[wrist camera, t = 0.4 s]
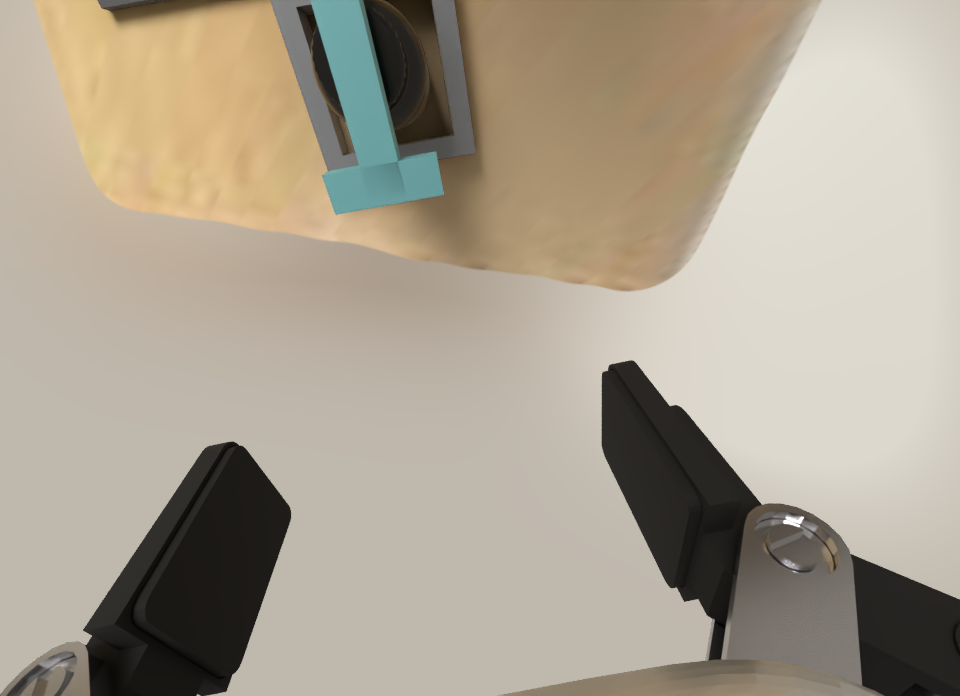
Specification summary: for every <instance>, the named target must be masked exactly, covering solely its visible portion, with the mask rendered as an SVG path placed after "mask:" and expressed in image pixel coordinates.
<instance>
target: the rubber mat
mask: <svg viewBox="0 0 960 696" xmlns="http://www.w3.org/2000/svg"><path fill="white" fill-rule="evenodd" d="M161 1H167V0H98V2H99V4H100V6H101V8H103V9H106V10H109V11H112V10H117V9H123V8H128V7H134V6H139V5H145V4H150V3H156V2H161Z"/></svg>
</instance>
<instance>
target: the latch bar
mask: <svg viewBox="0 0 960 696" xmlns="http://www.w3.org/2000/svg"><path fill="white" fill-rule="evenodd" d="M310 1H311V5H312V8H313V11H314V15H315V18H316V21H317V25H318V28H319V32H320V35H321V38H322V42H323V45H324V48H325V52H326V55H327V59H328V62H329V65H330V69H331V72H332V75H333V79H334V82H335V86H336V89H337V92H338V96H339V99H340V103H341V106H342V109H343V113H344V116H345V119H346V123H347V126H348V130H349V133H350V136H351V140H352V143H353V146H354V150H355V153H356V157H357V160H358V163H359V165H358V166H353V167H347V168H342V169H336V170H331V171H328V172H327V173H325V174H323V175H322V177H323V180H324V183H325V186H326V189H327V192H328V194H329V197H330V200H331V203H332V206H333V209H334V212H335V214H336V215H337V214H343V213H348V212H354V211H359V210H365V209H370V208H375V207H381V206H386V205H392V204H397V203H403V202H408V201H414V200H419V199H425V198H430V197H436V196H441V195H444V190H443V184H442V179H441V174H440V169H439V164H438V158H437V153H436V151H435V152H429V153H424V154H418V155H413V156H407V157H402V158H401V157H400V152H399V148H398V144H397V140H396V136H395V132H394V127H393V123H392V119H391V115H390V111H389V106H388V102H387V98H386V94H385V90H384V86H383V81H382V77H381V73H380V69H379V65H378V61H377V56H376V52H375V48H374V44H373V40H372V36H371V31H370V27H369V23H368V19H367V15H366V10H365V6H364V2H363V0H310Z"/></svg>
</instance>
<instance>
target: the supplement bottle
mask: <svg viewBox="0 0 960 696" xmlns="http://www.w3.org/2000/svg"><path fill="white" fill-rule="evenodd" d="M363 2H364V6H365V10H366V15H367V19H368V23H369V27H370V31H371V36H372V40H373V44H374V48H375V52H376V56H377V61H378V65H379V69H380V73H381V77H382V81H383V86H384V90H385V94H386V98H387V102H388V106H389V111H390V115H391V119H392V123H393V127H394V131H395V130H399V129H402V128H404V127H406V126H408V125H410V124H411V123H413V122H414V121H415V120H416V119H417V118H418V117H419V115H420V114H421V113H422V111H423V109H424V107H425V105H426V102H427V99H428V95H429V88H430V79H429V70H428V66H427V62H426V58H425V54H424V50H423V47H422V45H421V42H420V40H419V38H418V35H417V33H416V32H415V30H414V28H413V27H412V25H411V24H410V23H409V21H408V20H407V19H406V18H405V16H404V15H403V14H402V13H401V12H400V11H399V10H398V9H396V8H395V7H394V6H393V5H391V4H390V3H388V2H386V1H384V0H363ZM311 61H312V68H313V73H314V76H315V80H316V83H317V85H318V88H319V90H320V92H321V94H322V96H323V98H324V99H325V101H326V102H327V104H328V105H329V106H330V108H331V109H332V110H333V111H334V112H335V113H336V114H337V115H338V116H339V117H340V118H341V119H342V120H343V121H345V122H346V119H345V116H344V113H343V109H342V106H341V103H340V99H339V96H338V92H337V89H336V86H335V82H334V79H333V75H332V72H331V69H330V65H329V62H328V59H327V55H326V52H325V48H324V45H323V42H322V38H321V35H320V32H319V28H318V25H316V27H315V30H314V34H313V38H312V45H311Z"/></svg>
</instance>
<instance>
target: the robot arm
mask: <svg viewBox="0 0 960 696" xmlns="http://www.w3.org/2000/svg"><path fill="white" fill-rule="evenodd" d="M602 448H603V452H604V455H605V457H606V460H607V462H608V464H609V466H610V468H611V470H612V472H613V474H614V476H615V478H616V480H617V483H618V485H619V486H620V489H621V491H622V493H623V495H624V497H625V499H626V501H627V503H628V505H629V507H630V509H631V511H632V513H633V516H634V518H635V519H636V522H637V523H638V526H639V528H640V530H641V532H642V534H643V536H644V538H645V540H646V542H647V544H648V546H649V548H650V551H651V553H652V555H653V557H654V559H655V561H656V563H657V565H658V567H659V569H660V571H661V573H662V575H663V577H664V579H665V581H666V583H667V584H668V586H669V587H670V588H675V587H677V588H678V590H679V592H680V594H681V596H682V598H683V600H684V602H685V601H690V600H695V599H699V601H700V603H701V605H702V607H703V608H704V610H705V612H706V614H707V615H708V616H709V617H711V618H712V624H711V631H710V636H709V642H708V649H707V654H706V660H705V661H700V662H690V663H681V664H672V665H666V666H660V667H654V668H648V669H642V670H636V671H630V672H624V673H619V674H612V675H607V676H601V677H595V678H589V679H583V680H578V681H573V682H567V683H562V684H557V685H551V686H547V687H542V688H536V689H531V690H526V691H520V692H515V693H509V694H504V695H499V696H960V600H959V599H957V598H955V597H952V596H950V595H947V594H945V593H943V592H940V591H938V590H935V589H932V588H931V587H928V586H926V585H923V584H921V583H919V582H916V581H914V580H911V579H909V578H907V577H904V576H902V575H899V574H897V573H895V572H892V571H890V570H887V569H885V568H883V567H880V566H878V565H876V564H873V563H871V562H868V561H866V560H863V559H861V558H859V557H856V556H854V555H852V554H850V551H849V549H848V547H847V546H846V544H845V543H844V541H843V540H842V538H841V537H840V535H838V534H837V533H836V532H835V531H834V530H833V529H832V528H831V527H830V526H829V525H828V524H827V523H825V522H824V521H822V520H821V519H819V518H818V517H816V516H815V515H813V514H811V513H809V512H806V511H804V510H802V509H799V508H797V507H794V506H789V505H785V504H764V505H762V504H761V503H760V502H759V501H758V500H757V498H756V497H755V496H754V495H753V493H752V492H751V491H750V490H749V488H748V487H747V486H746V485H745V484H744V482H743V481H742V480H741V479H740V477H739V476H738V475H737V474H736V473H735V471H734V470H733V469H732V468H731V467H730V465H729V464H728V463H727V462H726V460H725V459H724V458H723V457H722V455H721V454H720V453H719V452H718V451H717V449H716V448H715V447H714V446H713V445H712V443H711V442H710V441H709V440H708V438H707V437H706V436H705V435H704V433H703V432H702V431H701V430H700V429H699V427H698V426H697V425H696V424H695V422H694V421H693V420H692V419H691V418H690V416H689V415H688V414H687V413H686V412H685V411H684V410H683V409H682V408H681V407H679V406H677V405H674V406H669V405H668V404H667V402H666V401H665V400H664V398H663V397H662V396H661V394H660V393H659V392H658V391H657V389H656V388H655V387H654V385H653V384H652V383H651V382H650V381H649V379H648V378H647V377H646V376H645V374H644V373H643V371H642V370H641V369H640V368H639V366H638V365H637V364H636V363H635V362H634V361H626V362H621V363H616V364H611V365H609V368H608V371H605V372H603V373H602ZM290 520H291V510H290V507H289V505H288V504H287V503H286V501H285V500H284V499H283V498H282V496H281V495H280V493H279V492H278V491H277V489H276V488H275V487H274V485H273V484H272V483H271V481H270V480H269V479H268V478H267V476H266V475H265V474H264V472H263V471H262V470H261V468H260V467H259V466H258V464H257V463H256V462H255V460H254V459H253V458H252V456H251V455H250V454H249V452H248V451H247V450H246V449H245V448H244V447H243V446H239V445H238V444H237V443H235V442H227V443H222V444H217V445H212V446H208V447H207V448H205V449H204V450H203V451H202V453H201V454H200V456H199V457H198V459H197V460H196V462H195V464H194V465H193V467H192V468H191V469H190V471H189V472H188V474H187V475H186V477H185V478H184V480H183V481H182V483H181V484H180V486H179V487H178V489H177V490H176V492H175V493H174V495H173V496H172V498H171V499H170V501H169V502H168V504H167V505H166V507H165V508H164V510H163V511H162V513H161V514H160V516H159V517H158V519H157V520H156V522H155V523H154V525H153V526H152V528H151V529H150V531H149V532H148V534H147V535H146V537H145V538H144V540H143V541H142V543H141V544H140V546H139V547H138V549H137V550H136V552H135V553H134V555H133V556H132V558H131V559H130V561H129V562H128V564H127V565H126V567H125V568H124V570H123V571H122V573H121V574H120V576H119V577H118V579H117V580H116V582H115V583H114V585H113V586H112V588H111V589H110V591H109V592H108V594H107V595H106V597H105V598H104V600H103V601H102V603H101V604H100V606H99V607H98V609H97V610H96V612H95V613H94V615H93V616H92V618H91V619H90V621H89V622H88V624H87V625H86V626H85V628H84V629H83V631H85V632H87V633H89V634H90V635H92V637H91V639H90V640H89V642H88V644H87V645H84V644H82V643H80V642H78V641H77V642H68V643H65V644H62V645H60V646H58V647H55V648H53V649H51V650H50V651H49V652H47V653H45V654H43V655H42V656H40V657H39V658H37V659H36V660H35V661H34V662H32V663H31V664H30V665H29V666H27V667H26V668H25V669H24V670H22V672H21V673H19V675H18V676H17V677H16V678H15V679H14V680H13V681H12V682H11V683H10V684H9V685H8V686H7V687H6V688H5V689H4V691H3V692H2V693H1V694H0V696H196V695H197V694H199V695H201V696H206V695H211V694H217V693H221V692H226V691H227V688H228V685H229V683H230V680H231V677H232V674H234V673H235V672H236V671H237V670H238V668H239V667H240V664H241V662H242V659H243V657H244V654H245V651H246V648H247V644H248V642H249V639H250V636H251V633H252V630H253V627H254V625H255V622H256V619H257V616H258V613H259V610H260V607H261V604H262V601H263V598H264V596H265V593H266V590H267V587H268V584H269V581H270V578H271V575H272V572H273V569H274V566H275V564H276V561H277V558H278V555H279V552H280V549H281V546H282V544H283V541H284V538H285V535H286V532H287V529H288V526H289V523H290Z"/></svg>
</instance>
